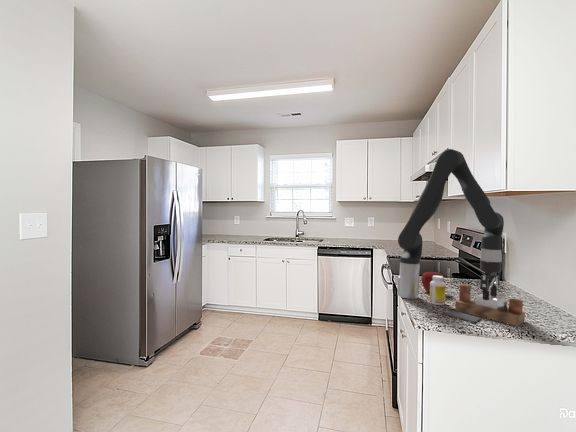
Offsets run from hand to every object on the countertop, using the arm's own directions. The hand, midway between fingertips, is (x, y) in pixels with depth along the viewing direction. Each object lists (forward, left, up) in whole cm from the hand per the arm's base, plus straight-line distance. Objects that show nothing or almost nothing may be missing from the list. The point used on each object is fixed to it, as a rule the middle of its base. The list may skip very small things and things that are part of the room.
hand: (489, 298), depth 132 cm
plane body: (0, 0, -8) cm, 8 cm away
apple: (-32, +15, -8) cm, 37 cm away
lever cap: (+1, 0, -4) cm, 4 cm away
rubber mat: (-6, -11, -8) cm, 15 cm away
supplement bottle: (-21, -2, -8) cm, 23 cm away
